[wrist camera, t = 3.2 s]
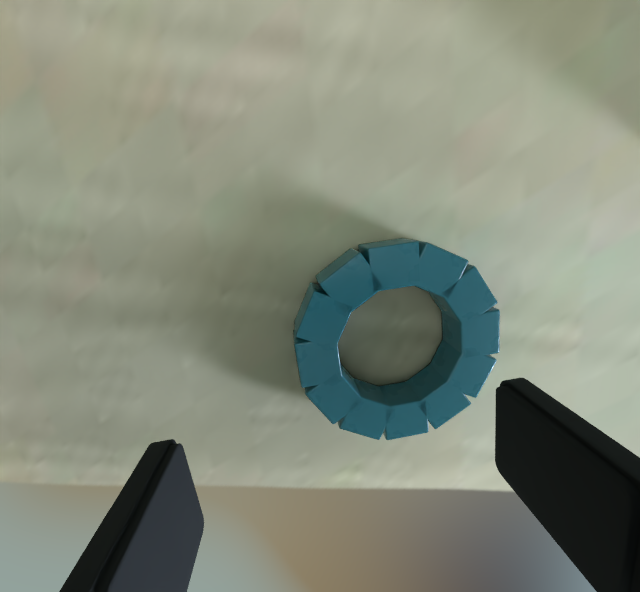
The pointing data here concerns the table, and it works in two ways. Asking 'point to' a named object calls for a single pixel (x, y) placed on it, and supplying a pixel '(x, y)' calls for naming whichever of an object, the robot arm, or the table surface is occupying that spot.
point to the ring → (427, 385)
